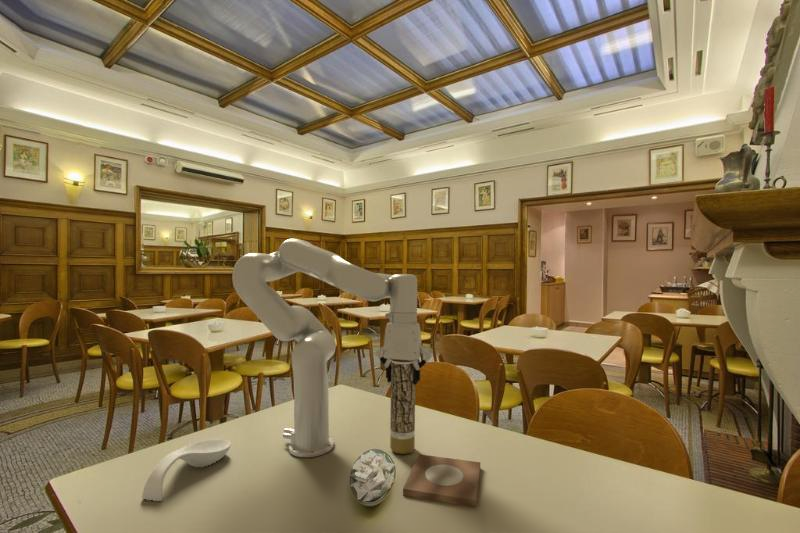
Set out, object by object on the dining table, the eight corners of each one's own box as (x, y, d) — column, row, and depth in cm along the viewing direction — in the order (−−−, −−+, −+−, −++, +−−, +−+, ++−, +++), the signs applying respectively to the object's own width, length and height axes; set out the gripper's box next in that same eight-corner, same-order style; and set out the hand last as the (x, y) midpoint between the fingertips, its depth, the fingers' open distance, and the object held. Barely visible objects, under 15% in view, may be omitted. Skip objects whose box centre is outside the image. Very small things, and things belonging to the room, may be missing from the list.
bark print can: (412, 456, 99) (413, 362, 99) (387, 453, 101) (388, 361, 101) (416, 444, 106) (417, 357, 106) (393, 442, 107) (393, 355, 108)
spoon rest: (201, 449, 105) (201, 423, 105) (239, 452, 103) (239, 426, 103) (128, 500, 82) (128, 467, 82) (176, 505, 80) (176, 472, 80)
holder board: (403, 495, 83) (403, 488, 83) (418, 459, 98) (418, 454, 98) (476, 507, 78) (475, 500, 78) (480, 468, 94) (480, 462, 94)
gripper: (369, 318, 102) (369, 383, 102) (431, 321, 98) (431, 389, 98) (378, 315, 110) (377, 375, 109) (436, 317, 105) (436, 381, 105)
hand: (402, 381), depth 103 cm, fingers closed on bark print can, 6 cm apart
